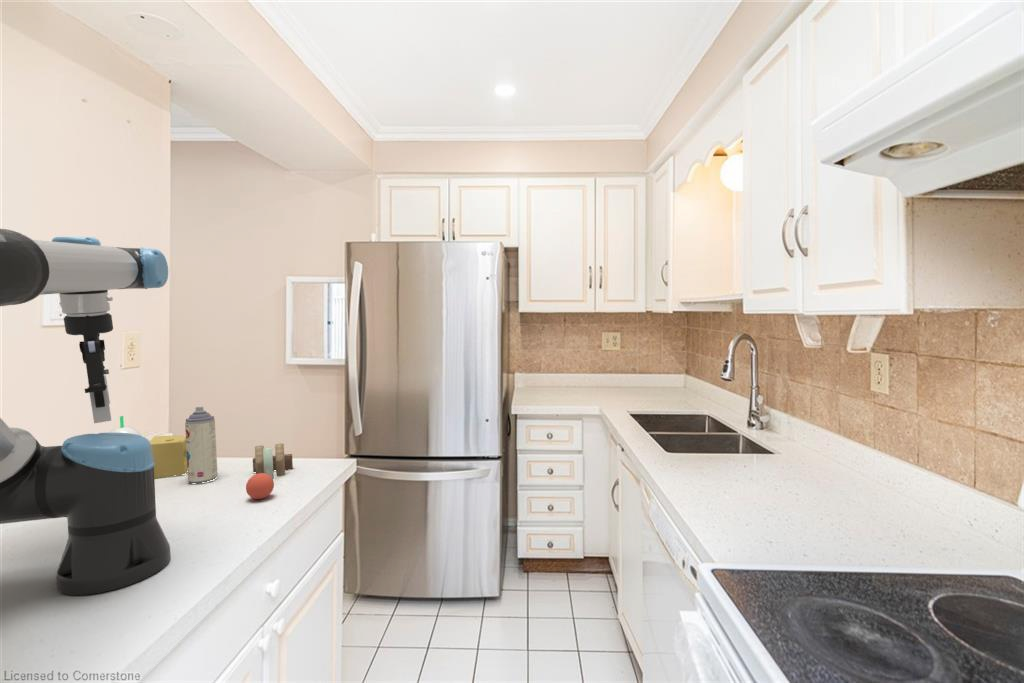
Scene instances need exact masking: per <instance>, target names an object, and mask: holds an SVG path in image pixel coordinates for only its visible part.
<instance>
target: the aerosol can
mask: <svg viewBox="0 0 1024 683" xmlns="http://www.w3.org/2000/svg"><path fill="white" fill-rule="evenodd" d="M215 420H216V419H215V416H214V415H211V414H210V413H209V412H207V411H206V410H204V406H195V410H194V412H193V413H192V414H189V417H188V418H186V419H185V422H184V423H185V424H184V426H185V427H184V429H185V430H184V431H185V437H186V450H187V469H188V472H187V482H189V483H202V482H207V481H210V480H213V479H215V478H216V477H217V476H218V460H217V459H218V457H217V440H216V439H217V435H216V421H215ZM218 477H219V476H218ZM189 483H188V484H189Z"/></svg>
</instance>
